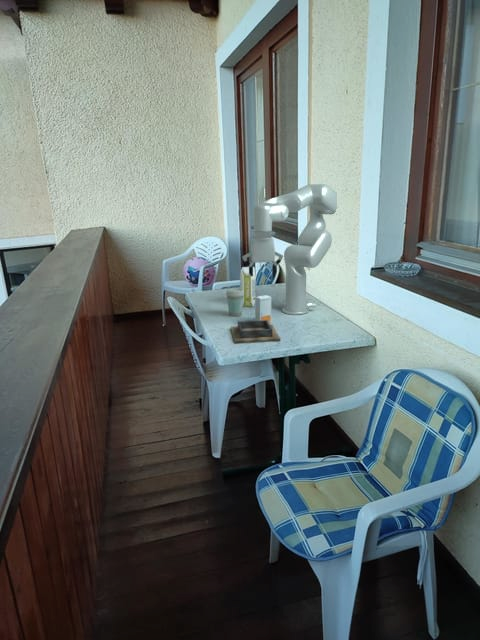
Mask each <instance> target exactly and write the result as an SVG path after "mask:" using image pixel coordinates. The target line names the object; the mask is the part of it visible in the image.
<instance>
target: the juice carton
mask: <svg viewBox="0 0 480 640" xmlns="http://www.w3.org/2000/svg"><path fill="white" fill-rule="evenodd" d="M252 267H253V276H251V275H250V274H249V266H242V267H241V269H240V271H239V289H242V290H243V292H244V297H243V308H247V307H249V308H255V297H257V286H256V285H257V277H256V275H257V274H256V269H255V266H252Z"/></svg>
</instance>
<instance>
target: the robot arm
mask: <svg viewBox="0 0 480 640" xmlns="http://www.w3.org/2000/svg"><path fill="white" fill-rule="evenodd" d="M337 194H338V192H336V191H335V189H333V188H332V187H331V186H329V185H328V184H323V183H322V184H321V183H319V184H317V183H316V184H315V183H314V184H307V185H305V186H302V187H300V188H297V189H296V190H294V191H292V192H289V193H285V194H282V195H278V196H276V197H272V198H269V199H267V200H265V201H263V202H260V203H259V204H256V205H254V207H253V238H251V242H250V252H247V253H246V254H244V255H243V256H241V257H242V260H243V261H244V263H245V265H247V267H249V274H250V275H251V276H253V267H254V266H253V265H254V264H255V263H259V264H260V263H272V267H271V269H272V276H274V277H275V276H276V274H277V271H278V269H277V266H278V265H279V264H280V263H282V260H284V265H285V306H283V307H282V309H281V310H282V312H283V313H284V314H288V315H293V316H294V315H296V316H299V315H305V314H308V312H309V311H310V310H309V308H316V306H317V305H316V303H315V302H307V272H306V270H305V268H307V269H315V268H317V267H318V266H319V265H320V263H321V262H322V260H323V259H324V258H325V256H326V254H327V253H328V251H329V250H330V248H331V245H332V243H333V241H332V240H333V237H332V234H331V232H329V231H328V230H326V227H327V226H326V221H325V219H324V215H332V214H334V213H335V212H336V209H337ZM306 207H309V208H308V209H309V221H308V222H307V223H306V226H305V227H304V228H303V230H302V232H301V233H300V234H299V236H298V238H297V244H292V245H291V244H290V245H289V246H287V247H286V248H285V250H284V252H283V255H282V254H281V253H279V252H277V251H276V250H275V249H276V248H275V242H274V241H275V240H274V238H273V236H276V232H275V231H273V230H272V229H273V226H272V225H273V223H278V222H279V223H281V222H284V221H285V220H287V219H288V216H289V213H296V212H299V211H301V210H304V208H306ZM276 256H277V258H278V259H277V260H276ZM247 258H250V261H248V259H247Z"/></svg>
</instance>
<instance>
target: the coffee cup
mask: <svg viewBox="0 0 480 640" xmlns="http://www.w3.org/2000/svg"><path fill="white" fill-rule="evenodd" d="M225 296H226V300H227V306H228V307H227V308H228V312H229V317H234V318H236V317H241V316H242V315H243V308H244V307H243V297H244V292H243V290H242V289H240V288H230V289H229V288H228V289H227V290H226V292H225Z"/></svg>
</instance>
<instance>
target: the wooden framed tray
mask: <svg viewBox="0 0 480 640" xmlns="http://www.w3.org/2000/svg"><path fill="white" fill-rule="evenodd" d="M230 331H231V334H232V338H233V342H234V344H235V345H236V344H251V343H252V344H253V343H267V342H268V343H269V342H270V343H271V342H281V337H280V335H279V334H278V332H277V330H276V328H275V326H274V325H273V324H272V323H269V322H268V321H267V320H258V321H255V320H243V321H237V326H236V325H235V326H230Z"/></svg>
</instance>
